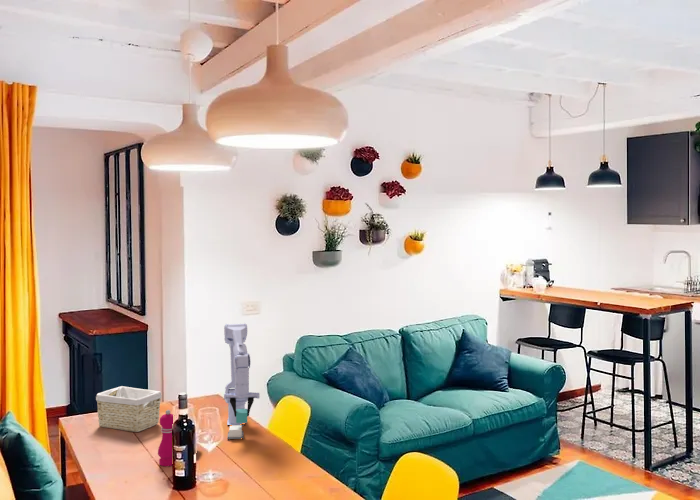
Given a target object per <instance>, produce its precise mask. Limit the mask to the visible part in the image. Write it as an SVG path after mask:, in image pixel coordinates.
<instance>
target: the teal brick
mask: <svg viewBox="0 0 700 500" xmlns="http://www.w3.org/2000/svg"><path fill="white" fill-rule="evenodd" d="M247 409H248V408H245V409H236V423H246V424H247V423H248V416H247Z"/></svg>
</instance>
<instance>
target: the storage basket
mask: <svg viewBox="0 0 700 500" xmlns="http://www.w3.org/2000/svg"><path fill="white" fill-rule="evenodd" d="M162 396H163V395H162V391H159V390H153V389H145V388H144V389H143V388H137V387H131V386H130V387H129V386H123V385H121V386H118V387H117V386H116V387H114V388H111V389H107V390H104V391H101V392H98V393H97V394H96V396H95V400H96V402H97V417H98V426H99V427H102V428H108V429H114V430H120V431H127V432H136V433H137V432H141V431H144V430H147V429H149V428H151V427H154V426H156V425H158V424H159V423H160V411H161V409H160V407H161V399H162V398H163V397H162Z"/></svg>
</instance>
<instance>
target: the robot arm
mask: <svg viewBox="0 0 700 500" xmlns="http://www.w3.org/2000/svg"><path fill="white" fill-rule="evenodd" d="M223 327H224V328H223V329H224V334H223V335H224V341H225V343H226V344H227V345H229V349H230V351H229V353H230V354H229V355H230V381H229V382H228V383H227V384H226V385H225V388H224V394H223V400H225V403H226V404H228V406H227V407H228V409H227V412H228V415H227V417H228V418H227V422H226V425H240V424H242V423H236V409H247V417H249V416H250V412H251V408H252V406H253V403H254V402H255V400H254V399H258V400H259V399H260V397H261V396H260V394H261V393H260V392H250V376H249V375H250V368H251V356H250V355H251V354H250V353H248V348H247V345H246V344H245V342H246V340H247V337H248V324H247V323H245V322H244V323H225V324H224V326H223ZM246 403H247V408H246Z"/></svg>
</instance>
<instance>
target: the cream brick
mask: <svg viewBox="0 0 700 500" xmlns="http://www.w3.org/2000/svg"><path fill="white" fill-rule="evenodd" d="M242 429H243V425H232V426H229V429H228V432H229V437H242V431H243V430H242Z"/></svg>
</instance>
